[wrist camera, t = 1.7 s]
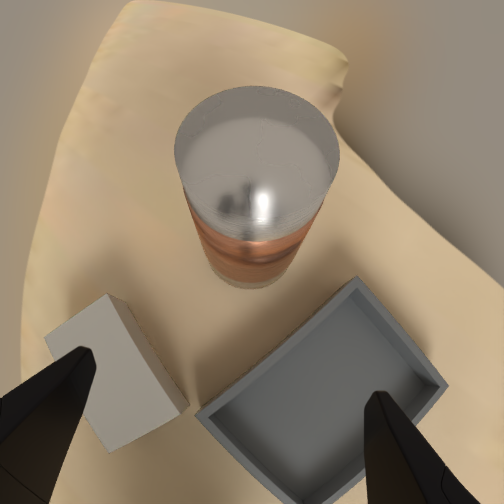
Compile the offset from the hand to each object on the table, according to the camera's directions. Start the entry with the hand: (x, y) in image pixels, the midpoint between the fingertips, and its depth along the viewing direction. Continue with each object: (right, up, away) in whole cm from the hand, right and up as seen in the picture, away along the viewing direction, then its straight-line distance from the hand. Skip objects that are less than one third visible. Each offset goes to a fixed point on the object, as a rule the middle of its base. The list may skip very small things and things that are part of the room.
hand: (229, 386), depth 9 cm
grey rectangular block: (-9, -5, +13) cm, 16 cm away
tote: (+6, -7, +12) cm, 15 cm away
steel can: (0, +4, +16) cm, 16 cm away
